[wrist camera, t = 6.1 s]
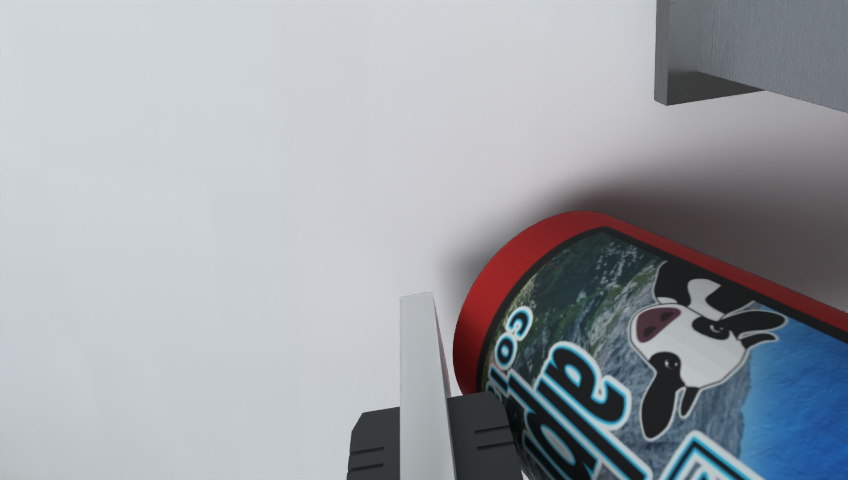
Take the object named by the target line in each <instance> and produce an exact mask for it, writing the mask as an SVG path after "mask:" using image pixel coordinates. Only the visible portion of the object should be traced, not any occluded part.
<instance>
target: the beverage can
mask: <svg viewBox="0 0 848 480" xmlns="http://www.w3.org/2000/svg"><path fill="white" fill-rule="evenodd" d="M453 366H454V372H455V376H456V380H457V383H458V385H459V388H460V390H461V392H462V394H463V395H468V394H474V393H480V392H486V391H492V393H493V394H494V395H495V396H496V397H497V398H498V399H499V400H500V401H501V403H502V404H503V405H504V406H505V410H506V414H507V418H508V422H509V426H510V430H511V433H512V437H513V441H514V445H515V449H516V453H517V457H518V461H519V464H520V468H521V470H522V471H523V472H524V474H525V475H526V476H527V477H528V479H529V480H848V313H845V312H843V311H841V310H838V309H836V308H834V307H831V306H829V305H826V304H824V303H822V302H819V301H817V300H814V299H812V298H810V297H807V296H805V295H803V294H800V293H798V292H795V291H793V290H791V289H788V288H786V287H783V286H781V285H778V284H776V283H774V282H771V281H769V280H766V279H764V278H762V277H759V276H757V275H754V274H752V273H749V272H747V271H745V270H742V269H740V268H737V267H735V266H732V265H730V264H728V263H725V262H723V261H720V260H718V259H716V258H713V257H711V256H708V255H706V254H703V253H701V252H699V251H696V250H694V249H691V248H689V247H686V246H684V245H681V244H679V243H676V242H674V241H672V240H669V239H667V238H664V237H662V236H659V235H657V234H654V233H652V232H649V231H647V230H644V229H642V228H639V227H637V226H634V225H632V224H629V223H627V222H624V221H622V220H619V219H617V218H614V217H612V216H609V215H606V214H603V213H599V212H593V211H573V212H567V213H562V214H559V215H555V216H552V217H549V218H547V219H544V220H542V221H540V222H538V223H536V224H534V225H532V226H531V227H529V228H527V229H526V230H524V231H523V232H521V233H520V234H518V235H517V236H516V237H514V238H513V239H512V240H511V241H509V242H508V243H507V244H506V245H505V246H504V247H503V248H502V249H501V250H500V251H499V252H498V253H497V254H496V255H495V256H494V257H493V258H492V259H491V260H490V262H489V263H488V264H487V265H486V266H485V268H484V269H483V270H482V272H481V273H480V274H479V276H478V278H477V279H476V281H475V282H474V284H473V286H472V288H471V289H470V291H469V293H468V295H467V297H466V299H465V302H464V304H463V306H462V309H461V312H460V314H459V318H458V321H457V324H456V329H455V334H454V341H453Z"/></svg>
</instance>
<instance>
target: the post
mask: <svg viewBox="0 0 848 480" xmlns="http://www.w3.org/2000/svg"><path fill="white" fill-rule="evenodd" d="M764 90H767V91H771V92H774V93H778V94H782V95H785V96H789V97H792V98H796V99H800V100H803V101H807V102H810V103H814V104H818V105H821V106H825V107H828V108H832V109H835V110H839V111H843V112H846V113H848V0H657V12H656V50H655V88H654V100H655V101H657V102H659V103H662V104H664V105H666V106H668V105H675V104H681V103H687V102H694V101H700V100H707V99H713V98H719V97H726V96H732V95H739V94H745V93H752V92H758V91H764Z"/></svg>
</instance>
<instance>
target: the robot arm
mask: <svg viewBox="0 0 848 480" xmlns="http://www.w3.org/2000/svg"><path fill="white" fill-rule="evenodd" d="M347 480H523V476H522V472H521V468H520V464H519V461H518V457H517V453H516V449H515V445H514V441H513V437H512V433H511V430H510V426H509V422H508V418H507V414H506V410H505V406H504V405H503V404H502V403H501V401H500V400H499V399H498V398H497V397H496V396H495V395H494V394H493V393H492V391H486V392H480V393H474V394H468V395H462V396H456V397H451V391H450V383H449V376H448V369H447V364H446V359H445V354H444V349H443V344H442V339H441V334H440V328H439V323H438V318H437V313H436V308H435V303H434V298H433V293H432V292H428V293H427V292H426V293H420V294H415V295H409V296H403V297H400V407H395V408H389V409H383V410H377V411H371V412H365V413H362V415H361V417H360V418H359V420H358V422H357V423H356V425H355V427H354V429H353V430H352V434H351V443H350V456H349V462H348V473H347Z"/></svg>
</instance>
